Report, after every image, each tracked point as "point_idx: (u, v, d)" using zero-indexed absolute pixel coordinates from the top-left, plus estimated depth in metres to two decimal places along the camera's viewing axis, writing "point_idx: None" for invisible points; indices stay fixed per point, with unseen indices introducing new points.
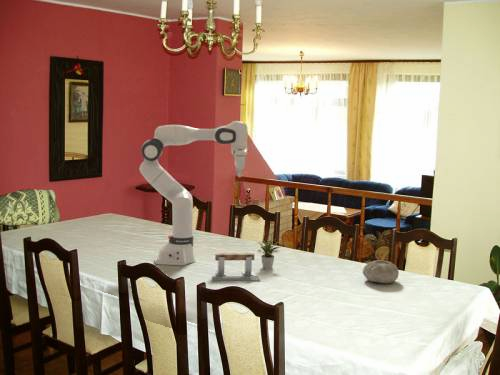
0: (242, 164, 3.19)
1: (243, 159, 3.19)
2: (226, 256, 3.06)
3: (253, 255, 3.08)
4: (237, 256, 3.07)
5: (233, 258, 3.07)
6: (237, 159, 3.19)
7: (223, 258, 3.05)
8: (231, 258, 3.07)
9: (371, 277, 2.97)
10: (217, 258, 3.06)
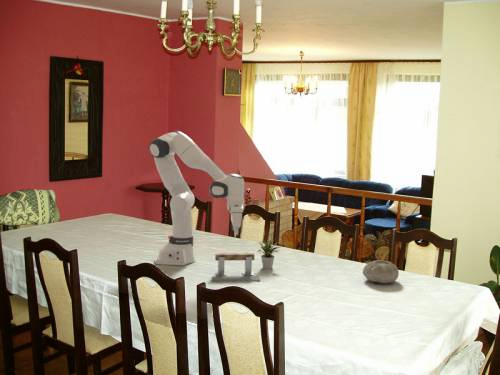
0: (239, 222, 2.96)
1: (239, 217, 2.96)
2: (226, 256, 3.06)
3: (253, 255, 3.08)
4: (237, 256, 3.07)
5: (233, 258, 3.07)
6: (233, 217, 2.96)
7: (223, 258, 3.05)
8: (231, 258, 3.07)
9: (371, 277, 2.97)
10: (217, 258, 3.06)
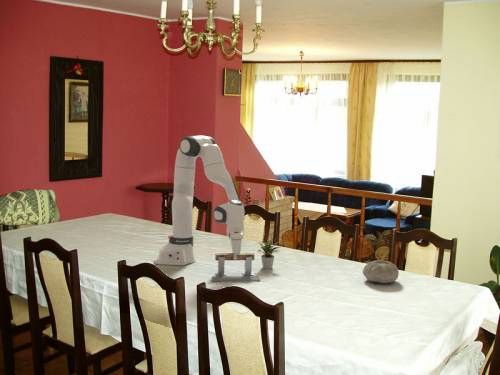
0: (238, 249, 2.98)
1: (239, 243, 2.98)
2: (226, 256, 3.07)
3: (253, 255, 3.08)
4: (237, 256, 3.07)
5: None
6: (233, 243, 2.98)
7: (223, 258, 3.05)
8: (231, 258, 3.07)
9: (371, 277, 2.97)
10: (217, 258, 3.06)
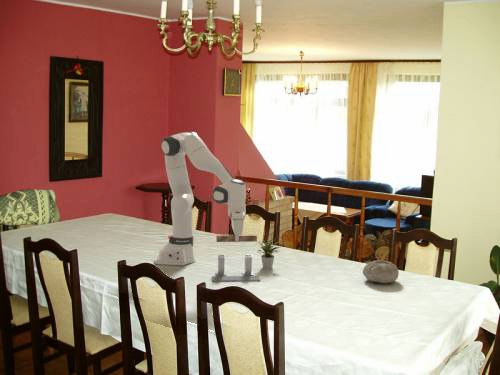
0: (240, 229, 2.88)
1: (241, 224, 2.88)
2: (228, 237, 2.97)
3: (255, 236, 2.98)
4: (239, 237, 2.97)
5: None
6: (234, 224, 2.88)
7: (223, 258, 3.05)
8: (233, 239, 2.97)
9: (371, 277, 2.97)
10: (218, 239, 2.97)
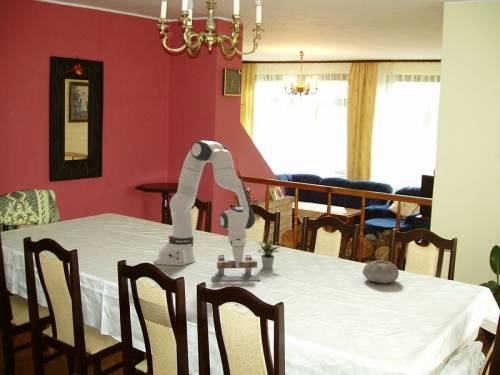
0: (240, 256, 2.90)
1: (241, 251, 2.91)
2: (228, 264, 2.99)
3: (256, 262, 3.01)
4: (239, 264, 3.00)
5: (235, 266, 3.00)
6: (235, 251, 2.90)
7: (223, 258, 3.05)
8: (233, 266, 3.00)
9: (371, 277, 2.97)
10: (219, 266, 2.99)
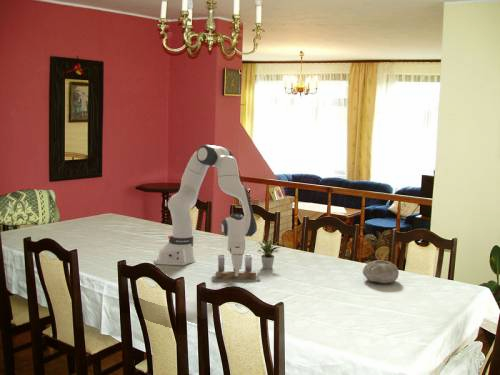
0: (239, 264, 2.91)
1: (240, 259, 2.91)
2: (227, 275, 3.00)
3: (255, 273, 3.01)
4: (238, 274, 3.00)
5: (234, 277, 3.00)
6: (234, 259, 2.91)
7: (223, 258, 3.05)
8: (232, 277, 3.00)
9: (371, 277, 2.97)
10: (218, 277, 3.00)
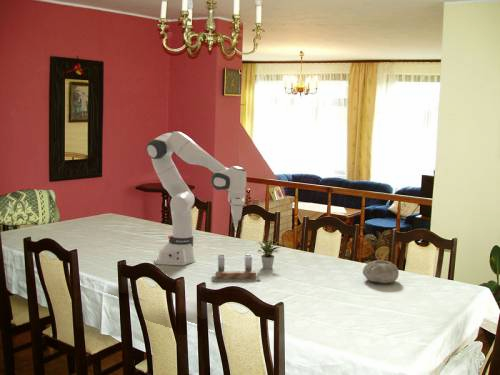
0: (239, 214, 2.95)
1: (240, 209, 2.95)
2: (227, 275, 3.00)
3: (255, 273, 3.01)
4: (238, 274, 3.00)
5: (234, 277, 3.00)
6: (234, 209, 2.95)
7: (223, 258, 3.05)
8: (232, 277, 3.00)
9: (371, 277, 2.97)
10: (218, 277, 3.00)
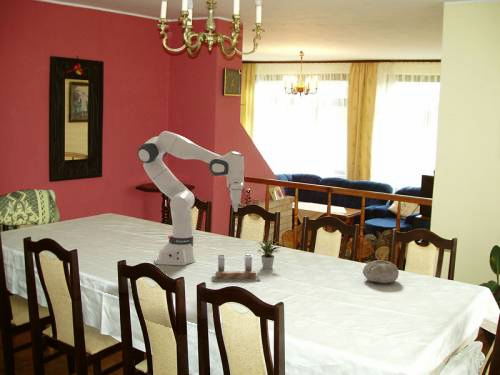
0: (238, 198, 2.99)
1: (239, 193, 2.99)
2: (227, 275, 3.00)
3: (255, 273, 3.01)
4: (238, 274, 3.00)
5: (234, 277, 3.00)
6: (233, 193, 2.99)
7: (223, 258, 3.05)
8: (232, 277, 3.00)
9: (371, 277, 2.97)
10: (218, 277, 3.00)
